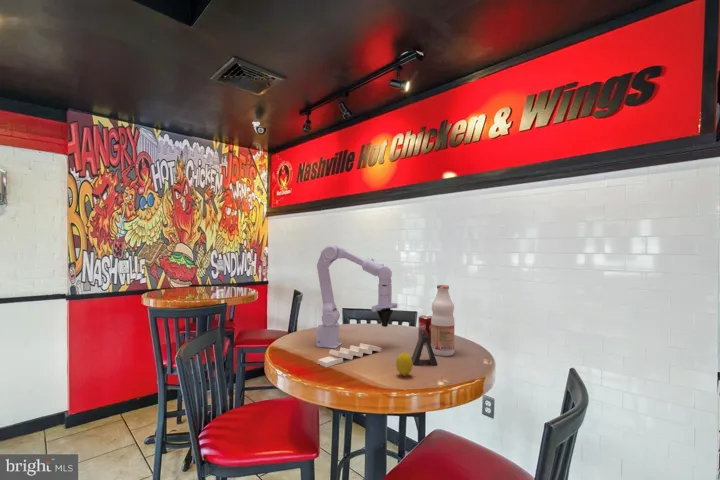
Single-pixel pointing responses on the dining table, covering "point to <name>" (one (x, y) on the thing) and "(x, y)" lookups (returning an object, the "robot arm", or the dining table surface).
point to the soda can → (424, 325)
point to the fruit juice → (442, 323)
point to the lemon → (404, 363)
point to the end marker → (345, 360)
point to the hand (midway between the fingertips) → (384, 326)
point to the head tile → (370, 347)
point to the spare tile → (330, 360)
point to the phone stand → (418, 350)
